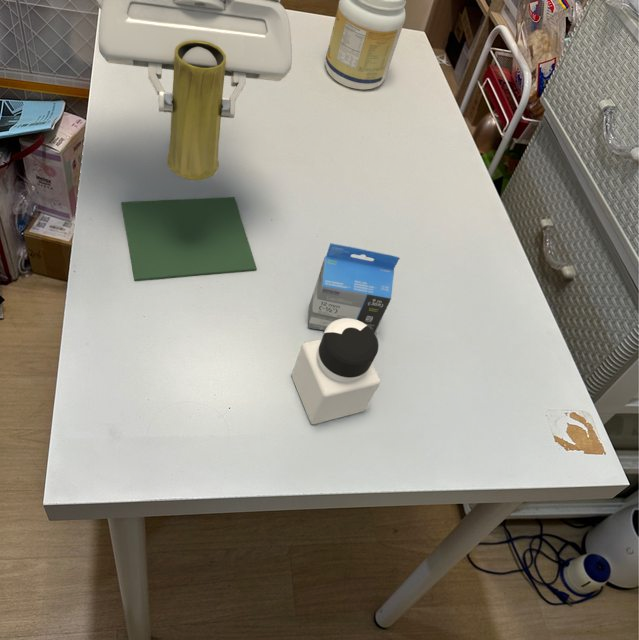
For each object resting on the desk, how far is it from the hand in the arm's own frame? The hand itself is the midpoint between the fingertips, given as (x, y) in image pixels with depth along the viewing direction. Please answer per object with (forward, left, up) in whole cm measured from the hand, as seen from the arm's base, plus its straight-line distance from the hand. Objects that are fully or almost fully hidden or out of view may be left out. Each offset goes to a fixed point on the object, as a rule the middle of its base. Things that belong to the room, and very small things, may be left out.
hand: (197, 114), depth 66 cm
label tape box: (+17, -16, -21) cm, 31 cm away
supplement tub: (+39, +41, -21) cm, 61 cm away
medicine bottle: (+12, -26, -21) cm, 35 cm away
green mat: (0, +1, -21) cm, 21 cm away
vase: (0, +1, -8) cm, 8 cm away
